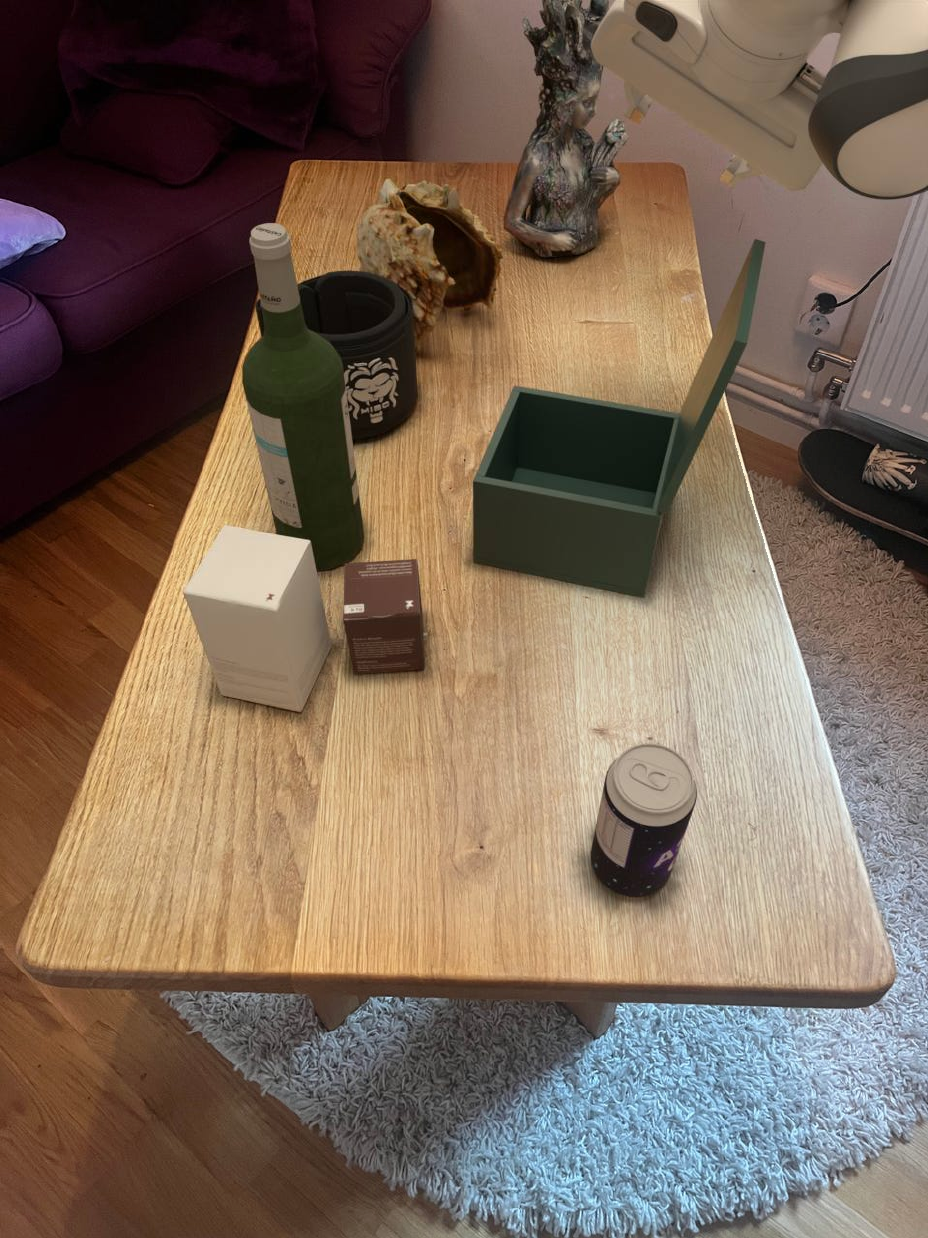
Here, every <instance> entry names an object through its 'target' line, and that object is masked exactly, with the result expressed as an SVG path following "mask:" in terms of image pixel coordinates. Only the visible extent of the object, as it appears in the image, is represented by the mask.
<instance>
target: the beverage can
mask: <svg viewBox="0 0 928 1238" xmlns="http://www.w3.org/2000/svg"><path fill="white" fill-rule="evenodd" d="M697 799H698V789H697V784H696V779H695V777H694V773H693V770H692V767H691V765H690V764H689V763H688V761H687V760H686V759H685V758H684V756H683V755H681V754H680V753H679V752H677V751H676V750H674V749H673V748H671V747H669V746H667V745H664V744H660V743H655V742H645V743H639V744H635V745H633V746H630V747H629V748H627V749H625V750H624V751H623V752H622V753H621V754H620V755H619V756H618V757H616V759H614V760H613V761H612V763H611V764H610V766H609V767H608V770H607V771H606V774H605V778H604V782H603V788H602V793H601V798H600V803H599V807H598V813H597V818H596V823H595V828H594V832H593V833H594V834H593V839H592V844H591V848H590V863H591V867H592V870H593V872H594V874H595V876H596V877H597V879H598V880H599V881H600V883H601V884H602V885H603V886H604V887H606V888H607V889H608V890H610V891H612V892H613V893H615V894H618V895H620V896H623V897H627V898H645V897H648V896H651V895H653V894H655V893H657V892H658V891H660V890H661V889H662V888H663V887H665V886H666V884H667V883H668V881H669V879H670V877H671V875H672V871H673V869H674V867H675V863H676V860H677V858H678V855H679V852H680V849H681V847H682V844H683V841H684V839H685V836H686V835H685V834H686V832H687V829H688V826H689V824H690V820H691V818H692V815H693V811H694V810H695V806H696V803H697Z"/></svg>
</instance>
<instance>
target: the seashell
mask: <svg viewBox="0 0 928 1238" xmlns="http://www.w3.org/2000/svg"><path fill="white" fill-rule="evenodd" d="M377 199H378V203H377V204H373V205H371V206H370V207H369V206H368V208H367V209H366V211H365V212H363V214H362V216H361V218H360V222H359V224H358V226H357V231H356V240H357V241H356V242H357V249H356V250H357V251H356V255H357V259H358V260H359V262H360V268H359V269H358V271H363V272H369V273H373V274H377V275H379V276H382V277H384V278H386V279H389V280H391V281H393V282H395V283H396V284H398V285H399V286H401V287H402V288H404V289H405V290H406V291H407V292H408V293H409V294H410V296H411V298H412V302H413V317H414V335H415V352H416V354H417V353H418V352H419V351H420V350H421V347H422V344H423V339H424V338H425V337H426V336H428V335H429V334H431V333H432V332H433V331H434V330H435V327H436V325H437V321H438V319H439V317H440V313H441V311H442V309H443V308H446V309H449V310H453V309H457V308H460V309H461V308H462V309H463V310H464V311H465V312H466V313H468V312H470V311H471V310H472V308H475V306H476V305H478V304H483V305H485V306H486V308H488V309H490V310H493V309H494V301H495V296H496V293H495V292H496V291H498V289H497V280H498V279H499V277H500V275H501V271H502V265H501V260H502V259H503V258H504V256H503V254H502V253H503V249H502V248H501V244H499V242H497V241H495V238H494V235H491V234H489V230H488V229H487V228H486V227H484V226H483V225H484V223H483V221H482V220H481V219H480V217H479V216H478V215H475V214H474V213H473V212H472V210H471V209H466V208H465V207H464V206H463V205H462V204H461V202H460V198H459V196H458V193H457V189H456V188H455V187H452V189H451V190H450V188H449V183H444V184H443V187H441V186H440V185H438V184H436V183H433V182H431V181H428V180H425V179H424V180H421V181H420V182H417V183H404V184H403V185H401V186H400V187H398V186H397V185H396V184H395V183H394V182H393V180H391V178H385V180H384V182H383V184H382V185H381V187H380V189H379V191H378V197H377Z"/></svg>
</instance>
